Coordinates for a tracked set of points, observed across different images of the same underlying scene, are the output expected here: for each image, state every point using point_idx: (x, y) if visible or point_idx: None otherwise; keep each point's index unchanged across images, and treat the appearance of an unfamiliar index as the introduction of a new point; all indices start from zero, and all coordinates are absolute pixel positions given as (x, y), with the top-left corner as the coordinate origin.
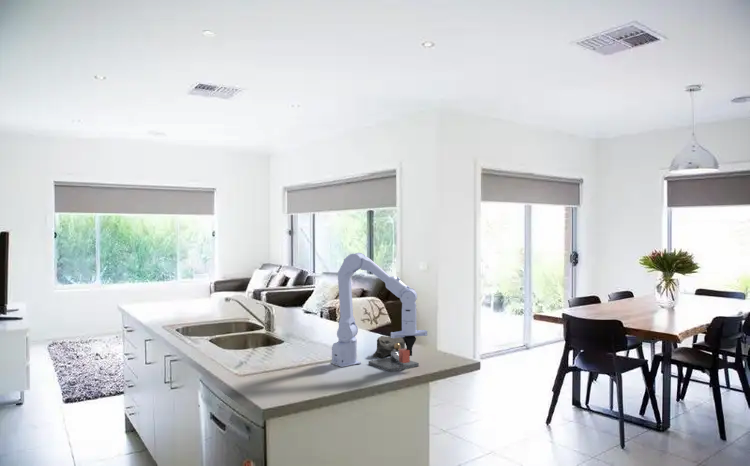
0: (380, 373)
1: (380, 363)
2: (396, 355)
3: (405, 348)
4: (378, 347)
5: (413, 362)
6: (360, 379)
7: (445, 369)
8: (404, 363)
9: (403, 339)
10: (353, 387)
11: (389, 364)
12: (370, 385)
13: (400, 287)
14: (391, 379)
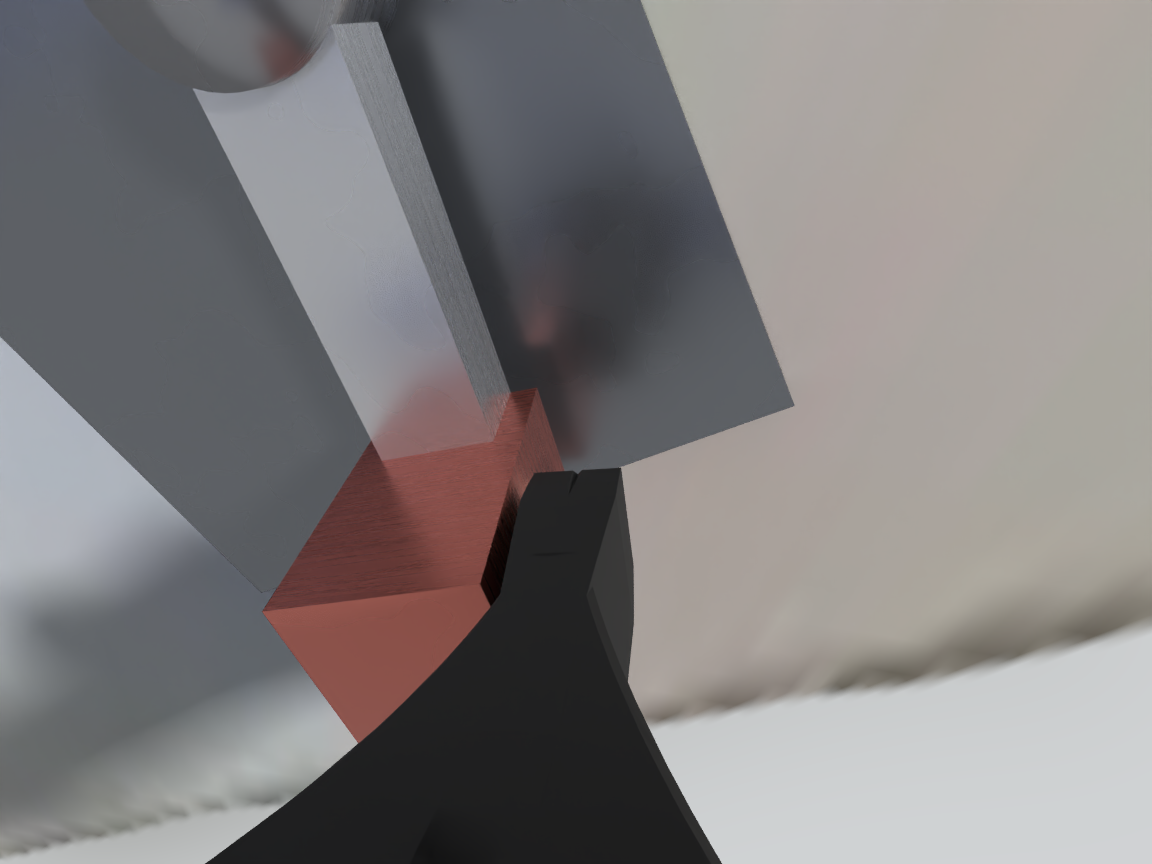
0: (164, 582)
1: (39, 295)
2: (290, 271)
3: (458, 602)
4: None
5: (710, 345)
6: (4, 695)
7: (1107, 607)
8: (509, 379)
9: (253, 841)
10: (25, 815)
11: (224, 393)
12: (145, 812)
13: None
14: (310, 750)
